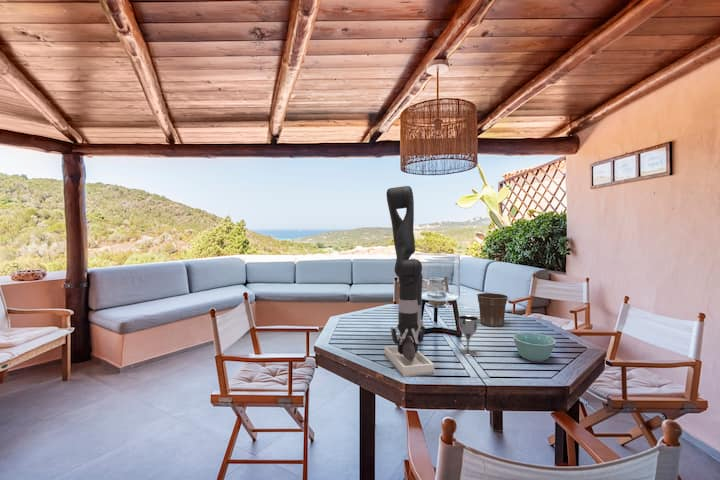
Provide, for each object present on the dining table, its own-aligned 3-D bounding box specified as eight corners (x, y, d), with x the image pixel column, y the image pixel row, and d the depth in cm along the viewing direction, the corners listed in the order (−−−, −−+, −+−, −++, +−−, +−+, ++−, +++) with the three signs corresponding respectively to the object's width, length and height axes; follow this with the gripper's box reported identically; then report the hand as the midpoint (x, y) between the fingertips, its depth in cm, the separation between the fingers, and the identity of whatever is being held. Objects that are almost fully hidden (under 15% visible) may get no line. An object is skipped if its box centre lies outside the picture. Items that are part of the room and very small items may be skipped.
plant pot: (474, 319, 204) (474, 292, 204) (502, 320, 202) (503, 293, 201) (479, 327, 188) (480, 297, 187) (511, 328, 186) (511, 298, 185)
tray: (411, 352, 149) (411, 344, 149) (434, 373, 128) (434, 364, 128) (384, 355, 146) (384, 347, 146) (403, 377, 125) (403, 367, 125)
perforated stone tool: (418, 364, 130) (418, 345, 130) (404, 364, 129) (404, 346, 129) (410, 350, 145) (410, 333, 144) (397, 350, 144) (397, 333, 144)
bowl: (554, 368, 133) (554, 347, 133) (510, 360, 141) (510, 340, 141) (556, 355, 146) (556, 336, 146) (515, 348, 155) (516, 330, 155)
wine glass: (467, 356, 145) (468, 321, 144) (454, 350, 152) (454, 316, 151) (481, 353, 148) (482, 318, 148) (468, 348, 156) (468, 314, 155)
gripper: (421, 307, 142) (420, 348, 142) (387, 309, 138) (387, 351, 139) (429, 311, 135) (428, 354, 135) (393, 313, 131) (393, 358, 132)
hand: (407, 352), depth 137 cm, fingers closed on perforated stone tool, 5 cm apart
